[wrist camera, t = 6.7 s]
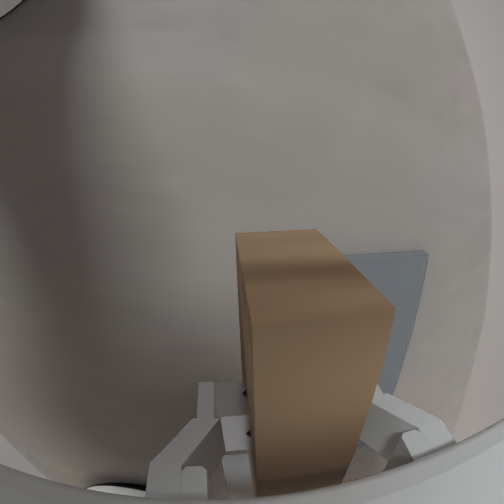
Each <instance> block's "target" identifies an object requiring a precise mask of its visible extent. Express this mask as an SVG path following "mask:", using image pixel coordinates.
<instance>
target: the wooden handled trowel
mask: <svg viewBox="0 0 504 504" xmlns="http://www.w3.org/2000/svg"><path fill="white" fill-rule="evenodd" d="M235 239H236V261H237V282H238V302H239V322H240V340H241V358H242V375H243V380H245V382H246V392H247V398H248V405H249V413H250V434H251V449H246V450H235V451H226V453H225V455H224V456H223V458H222V465H223V470H224V475H225V479H226V484H227V489H228V494H229V498H230V499H241V498H254V497H264V496H273V495H281V494H288V493H294V492H300V491H306V490H312V489H317V488H322V487H327V486H331V485H336V484H340V483H342V481H343V478H344V476H345V474H346V471H347V469H348V467H349V464H350V462H351V459H352V457H353V454H354V451H355V449H356V446H357V444H358V441H359V438H360V435H361V433H362V430H363V427H364V424H365V421H366V418H367V415H368V412H369V409H370V406H371V403H372V400H373V396H374V393H375V390H376V386H377V383H378V380H379V376H380V372H381V369H382V365H383V361H384V357H385V354H386V350H387V345H388V341H389V337H390V333H391V328H392V324H393V319H394V314H395V309H396V308H395V307H394V306H393V305H392V304H391V303H390V302H389V301H388V300H387V299H386V298H385V297H384V296H383V295H382V294H381V293H380V292H379V291H378V290H377V289H376V288H375V287H374V286H373V285H372V284H371V283H370V282H369V281H368V280H367V279H366V278H365V277H364V276H363V275H362V274H361V273H360V272H359V271H358V270H357V269H356V268H355V267H354V266H353V265H352V264H351V263H350V262H349V261H348V260H347V259H346V258H345V257H344V256H343V255H342V254H341V253H340V252H339V251H338V250H337V249H336V248H335V247H334V246H333V245H332V244H331V243H330V242H329V241H328V240H327V239H326V238H325V237H324V236H323V235H322V234H321V233H320V232H319V231H317V230H316V229H312V230H290V231H269V232H250V233H235Z"/></svg>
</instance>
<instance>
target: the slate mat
mask: <svg viewBox="0 0 504 504" xmlns="http://www.w3.org/2000/svg"><path fill="white" fill-rule="evenodd" d="M428 255H429V254H428V253H426V252H425V251H423V250H422V251H408V252H393V253H378V254H363V255H348V256H344V257H345V258H346V259H347V260H348V261H349V262H350V263H351V264H352V265H353V266H354V267H355V268H356V269H357V270H358V271H359V272H360V273H361V274H362V275H363V276H364V277H365V278H366V279H367V280H368V281H369V282H370V283H371V284H372V285H373V286H374V287H375V288H376V289H377V290H378V291H379V292H380V293H381V294H382V295H383V296H384V297H385V298H386V299H387V300H388V301H389V302H390V303H391V304H392V305H393V306H394V307H395V308H396V309H395V314H394V319H393V324H392V328H391V333H390V337H389V341H388V345H387V350H386V354H385V357H384V361H383V365H382V369H381V372H380V376H379V380H378V383H377V384H378V386H379V387H380V389H381V391H382V392H383V394H385V393H388V394H390V395H393V392H394V390H395V387H396V384H397V381H398V378H399V375H400V372H401V368H402V365H403V362H404V359H405V355H406V352H407V349H408V345H409V342H410V338H411V334H412V330H413V327H414V323H415V319H416V315H417V310H418V306H419V302H420V297H421V292H422V288H423V283H424V278H425V272H426V267H427V261H428ZM364 444H365V443H364V442H363V441H361V440H360V439H359V441H358V444H357V446H360V445H364Z"/></svg>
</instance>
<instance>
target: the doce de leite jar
mask: <svg viewBox="0 0 504 504" xmlns="http://www.w3.org/2000/svg"><path fill="white" fill-rule="evenodd" d="M86 489H90V490H95V491H101V492H107V493H113V494H120V495H128V496H137V497H145V493H146V489H145V488H141V487H137V486H131V485H123V484H116V483H114V484H97V485H93V486H90V487H88V488H86Z"/></svg>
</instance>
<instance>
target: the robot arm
mask: <svg viewBox="0 0 504 504" xmlns="http://www.w3.org/2000/svg"><path fill="white" fill-rule="evenodd" d="M21 1H22V0H0V17H2V16H3V15H5V14H6V13H7V12H9V11H10V10H11V9H13V8H14V7H15V6H16V5H18V4H19V3H20V2H21ZM359 439H360V440H361V441H363V442H364V443H365V444H367V445H368V446H369V447H371V448H372V449H373V450H375V451H376V452H377V453H379V454H380V455H381V456H383V457H384V458H385V459H387V460H388V461H389V462H388V463H387V465H386V467H385V469H384V470H383V472H381V473H377V474H374V475H371V476H367V477H364V478H360V479H356V480H352V481H348V482H344V483H340V484H336V485H331V486H327V487H322V488H317V489H312V490H306V491H300V492H294V493H288V494H281V495H273V496H264V497H254V498H241V499H221V500H215V497H214V493H213V490H212V487H211V483H210V480H209V478H210V476H211V475H212V473H213V472H214V470H215V469H216V467H217V465H218V464H219V462H220V461H221V459H222V458H223V456H224V455H225V453H226V451H235V450H246V449H251V434H250V413H249V405H248V398H247V392H246V382H245V380H236V381H215V382H199V384H198V399H197V418H195V419H191V420H190V421H189V423H188V424H187V425H186V426H185V427H184V428H183V429H182V430H181V431H180V432H179V433H178V434H177V435H176V436H175V438H174V439H173V440H172V441H171V442H170V443H169V444H168V445H167V446H166V447H165V448H164V449H163V450H162V451H161V452H160V453H159V454H158V455H157V456H156V457H155V458H154V459H153V460H152V461H151V462H150V463H149V470H148V477H147V485H146V493H145V497H137V496H128V495H120V494H113V493H107V492H101V491H95V490H90V489H85V488H80V487H76V486H71V485H67V484H63V483H59V482H55V481H51V480H48V479H44V478H41V477H37V476H34V475H31V474H27V473H24V472H21V471H18V470H16V469H12V468H10V467H7V466H4V465H1V464H0V504H504V419H502V420H500V421H498V422H496V423H495V424H493V425H491V426H489V427H487V428H486V429H484V430H482V431H480V432H478V433H476V434H474V435H472V436H470V437H468V438H466V439H464V440H462V441H460V442H458V443H456V441H455V440H454V439H453V437H452V435H451V434H450V432H449V431H448V429H447V428H446V426H445V425H444V424H443V422H442V421H441V419H439V418H437V417H435V416H433V415H431V414H429V413H427V412H424V411H422V410H420V409H418V408H416V407H414V406H412V405H410V404H408V403H406V402H404V401H402V400H400V399H398V398H396V397H394V396H392V395H390V394H388V393H385V394H383V392H382V391H381V389H380V387H379V386H378V384H377V386H376V390H375V393H374V396H373V400H372V403H371V406H370V409H369V412H368V415H367V418H366V421H365V424H364V427H363V430H362V433H361V435H360V438H359Z"/></svg>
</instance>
